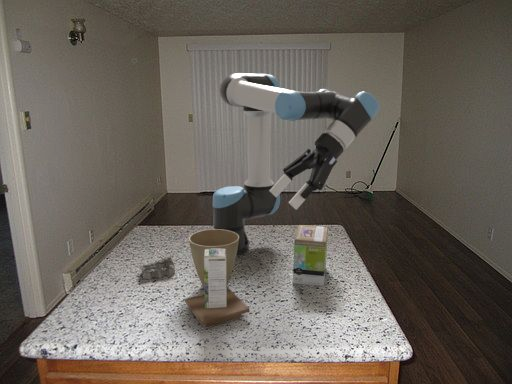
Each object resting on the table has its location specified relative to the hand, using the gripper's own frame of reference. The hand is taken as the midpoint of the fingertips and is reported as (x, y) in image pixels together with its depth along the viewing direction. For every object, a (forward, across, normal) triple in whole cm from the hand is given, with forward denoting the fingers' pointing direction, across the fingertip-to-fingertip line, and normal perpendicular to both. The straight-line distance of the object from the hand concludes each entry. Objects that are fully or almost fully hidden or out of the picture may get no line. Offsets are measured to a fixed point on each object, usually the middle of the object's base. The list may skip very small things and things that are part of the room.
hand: (281, 199), depth 105 cm
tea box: (+10, +12, -32) cm, 36 cm away
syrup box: (+32, 0, -6) cm, 33 cm away
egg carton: (+43, +30, +1) cm, 53 cm away
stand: (+34, -1, -8) cm, 35 cm away
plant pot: (+32, +15, -10) cm, 37 cm away
